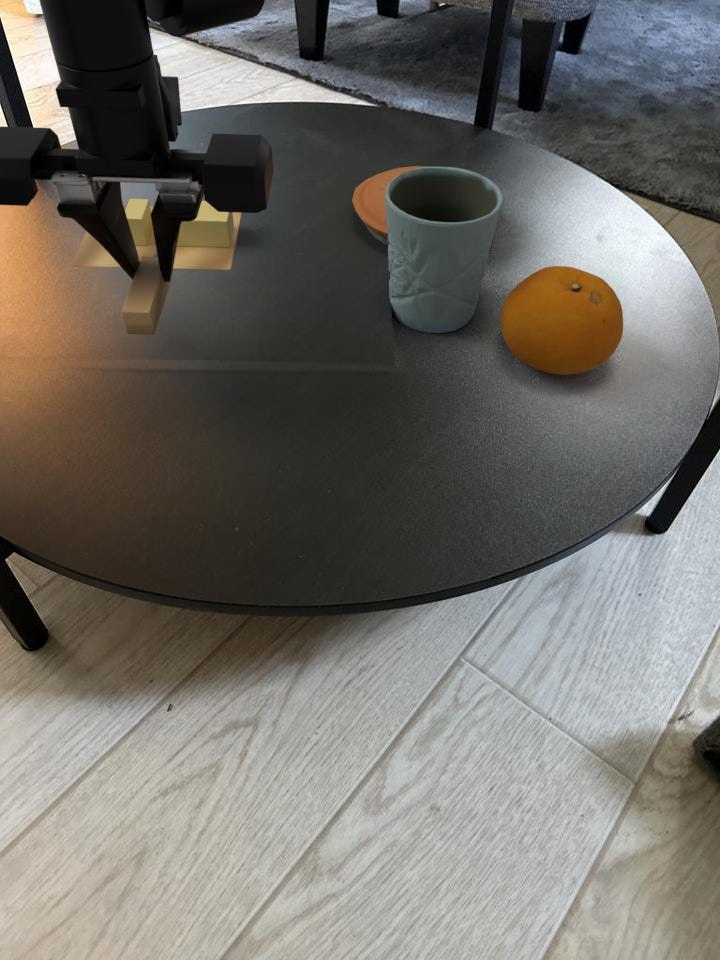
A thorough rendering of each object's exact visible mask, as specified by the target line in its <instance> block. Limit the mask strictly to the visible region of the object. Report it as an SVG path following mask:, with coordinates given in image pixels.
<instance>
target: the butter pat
mask: <svg viewBox="0 0 720 960" xmlns="http://www.w3.org/2000/svg"><path fill="white" fill-rule="evenodd" d="M126 206H127V207H126V210H125V213H126V216H127V220H128V223H129V226H130V229H131V233H132V236H133V239H134V243H135V245H147V244H148V241H149V238H150V235H151V232H152V229H153V226H152V220H151V208H150V206H151V204H150V199H148V198H129V199H128V202H127V205H126Z"/></svg>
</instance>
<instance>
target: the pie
mask: <svg viewBox="0 0 720 960" xmlns="http://www.w3.org/2000/svg"><path fill="white" fill-rule="evenodd" d="M422 167H427V166H423V165H413V166H412V165H411V166H403V167H397V168H396V167H395V168H392V169H389V170H386V171H383V172H380V173H377V174H375V175H373V176H371V177H369V178H367V179H365V180H363V182H361V183H360V184H358V186H356V187H355V188H354V192H353V195H352V199H351V202H352V204H353V208H354V211H355V212H356V214H357V216H358V217H359V218H360V220H361V221H362V222H363V224H364V225H365V227H366V228H367V230H368V231H369V232H370V234H371V235H372V237H374V239H376V240H378V241H379V242H380V243H382V244H383V245H385V246H388V245H389V242H388V233H387V216H386V199H385V193H386V189H387V187H388V184H389V183H390V182H391V181H392V180H393V179H394V178H395V177H396V176H398V175H400V174H402V173H404V172H406V171H410V170H413V169H417V168H422Z"/></svg>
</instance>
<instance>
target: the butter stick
mask: <svg viewBox="0 0 720 960" xmlns="http://www.w3.org/2000/svg"><path fill="white" fill-rule="evenodd" d="M233 230H234V222H233V212H218V211H217V210H216V209H214V208H213V207H212V206H211V205H210V204H209V203H207V202H206V201H205V200H202V202H201V205H200V208H199V212H198V215H197V218H196V219H195V220H193V221H183V222H181V225H180V231H179V236H178V242H177V246H197V247H230V245H231V240H232V235H233Z"/></svg>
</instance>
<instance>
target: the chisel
mask: <svg viewBox="0 0 720 960" xmlns="http://www.w3.org/2000/svg"><path fill="white" fill-rule="evenodd" d="M172 279H173V278H172V277H171V279H170V282H165V281H164V278H163V276H162V274H161V271H160V267H159V262H158V256H157V250H156V248H155V251H154V254H153V256H142V257H141V259H140V262H139V265H138V268H137V270H136V273H135V276H134V278H133V280H132V281H131V283H130V287H129V289H128V292H127V294H126V298H125V300H124V303H123V306H122V309H121V312H120V313H121V316H122V319H123V323H124V328H125V331H126V334H127V335H147V336H149V335H150V336H153V335H155V334H156V330H157V328H158V324H159V322H160V317H161V315H162V311H163V308H164V305H165V303H166V298H167V295H168V292H169V289H170V285H171V283H172Z"/></svg>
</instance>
